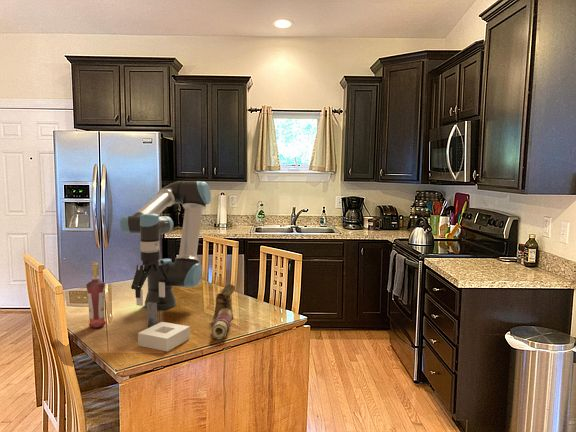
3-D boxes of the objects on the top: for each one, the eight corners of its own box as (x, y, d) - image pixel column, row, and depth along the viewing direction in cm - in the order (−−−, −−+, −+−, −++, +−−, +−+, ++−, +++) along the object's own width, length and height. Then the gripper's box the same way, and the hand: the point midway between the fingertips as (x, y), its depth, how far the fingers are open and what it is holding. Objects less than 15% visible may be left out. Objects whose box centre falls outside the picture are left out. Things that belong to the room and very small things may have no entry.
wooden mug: (221, 326, 189) (220, 285, 188) (210, 317, 201) (210, 279, 199) (240, 322, 194) (239, 283, 192) (228, 314, 206) (228, 276, 204)
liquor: (105, 328, 186) (103, 264, 183) (87, 330, 184) (84, 265, 181) (107, 322, 193) (105, 260, 190) (89, 324, 191) (86, 261, 188)
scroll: (213, 319, 193) (204, 336, 174) (220, 304, 193) (212, 320, 173) (229, 326, 194) (221, 344, 174) (236, 312, 193) (229, 328, 173)
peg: (145, 331, 183) (144, 303, 182) (152, 328, 187) (151, 301, 185) (153, 332, 181) (152, 304, 180) (159, 329, 185) (158, 302, 184)
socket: (138, 345, 168) (137, 333, 167) (162, 333, 181) (162, 321, 180) (167, 351, 162) (167, 338, 162) (190, 338, 175) (189, 326, 175)
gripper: (135, 256, 168) (136, 310, 169) (176, 247, 190) (177, 294, 192) (120, 255, 171) (122, 307, 172) (162, 246, 193) (163, 292, 195)
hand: (151, 301), depth 182 cm, fingers open, 13 cm apart
